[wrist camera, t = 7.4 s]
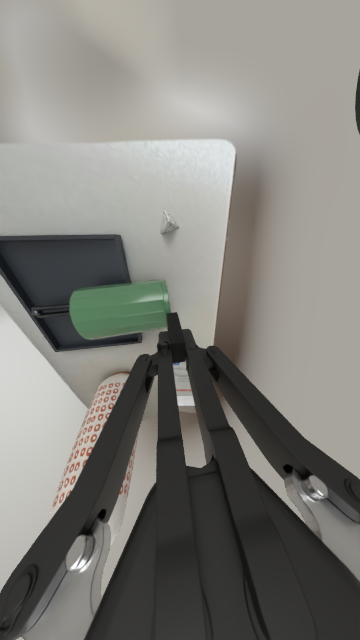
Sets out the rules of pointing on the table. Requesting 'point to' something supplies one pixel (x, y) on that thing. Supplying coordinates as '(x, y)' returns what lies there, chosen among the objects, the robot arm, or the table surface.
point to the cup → (120, 309)
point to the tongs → (39, 309)
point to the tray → (63, 279)
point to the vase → (84, 445)
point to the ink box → (182, 385)
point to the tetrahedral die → (168, 223)
